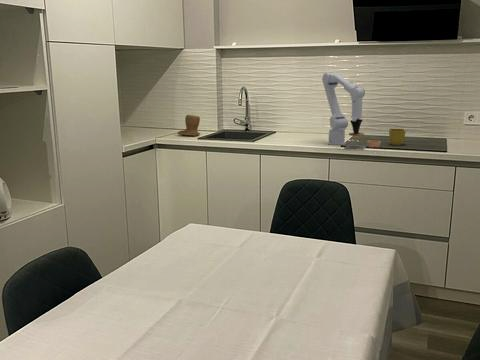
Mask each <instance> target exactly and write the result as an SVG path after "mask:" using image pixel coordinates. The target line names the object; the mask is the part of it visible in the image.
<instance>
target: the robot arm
mask: <svg viewBox="0 0 480 360" xmlns="http://www.w3.org/2000/svg"><path fill="white" fill-rule="evenodd" d="M321 80H322V84H323V87H324V91H325V95H326V97H327V102H328V105H329V109H330V112H331V116H330V118H329V126H330V130H329V132H328V143H327V145H332V146H333V145H335V146H336V145H338V146H344V145H346V144H347V142H346V141H345V139H346V138H345V137H346V135H345V134H346V130H347V128H348V127H349V121H348V119H347V117H346V115H345V114H344V113H342V111H341V109H340V105H339V102H338V98H337V95H336V91H335V89H336V88H337V86H338V85H341V86H342V87H343V89H344V91H346V92H347V93H349V95H350V97H351V99H350V100H351V120H350V123H351V126H352V131H353V132H352V133H357V132H358V128H359V130H360V129H361V128H360V127H361V124H362V122H363V119H364V118H365V116H363V98H364V97H365V95H366V90H365V88H364V87H363V86H360V87H359V86H358V85H356V84H355V83H354V82H353V80H351V81H350V80H349V81H348V80H346V78H344V77H343V76H342V74H341V73H340V72H337V71H336V72H325V73H324V74H323V75H322V78H321Z"/></svg>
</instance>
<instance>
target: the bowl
mask: <svg viewBox="0 0 480 360" xmlns="http://www.w3.org/2000/svg"><path fill="white" fill-rule="evenodd" d="M381 143H382V141H380V140H375V139H373V140H371V139H370V140H367V141H366V146H368V147H367V148H374V147H375V148H380V147H381V146H382V145H381Z"/></svg>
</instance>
